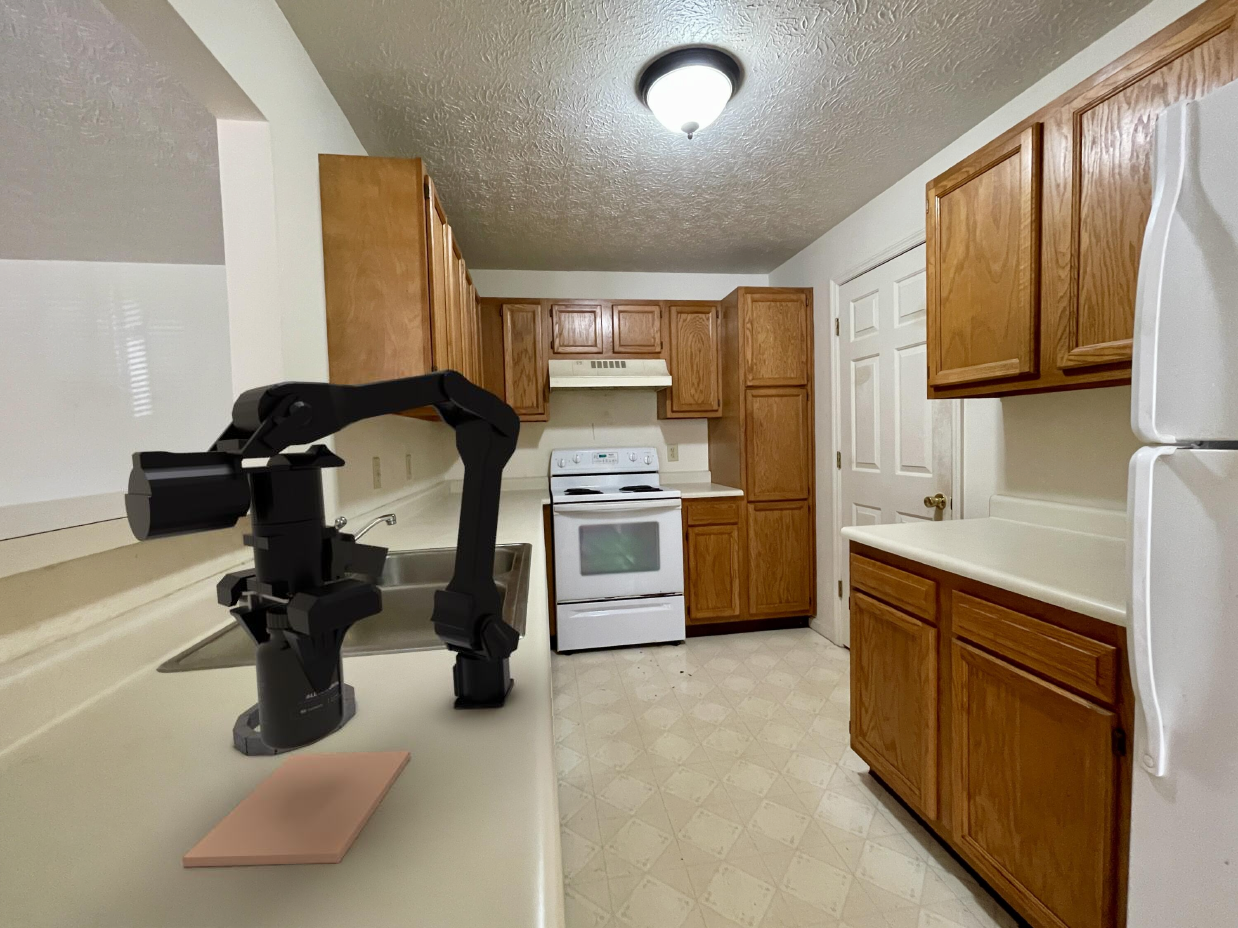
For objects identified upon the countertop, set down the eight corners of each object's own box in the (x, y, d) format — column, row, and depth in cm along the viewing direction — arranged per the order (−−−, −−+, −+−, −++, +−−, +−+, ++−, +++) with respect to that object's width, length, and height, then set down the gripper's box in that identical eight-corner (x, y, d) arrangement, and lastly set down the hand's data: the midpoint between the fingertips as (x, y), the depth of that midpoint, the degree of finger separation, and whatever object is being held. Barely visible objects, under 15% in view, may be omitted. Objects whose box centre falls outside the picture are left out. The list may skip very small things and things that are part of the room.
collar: (373, 694, 66) (372, 680, 66) (315, 753, 54) (314, 735, 54) (285, 697, 67) (284, 683, 67) (207, 756, 54) (205, 739, 54)
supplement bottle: (329, 746, 43) (319, 614, 42) (244, 758, 42) (232, 623, 41) (357, 704, 50) (349, 591, 49) (285, 713, 49) (275, 597, 48)
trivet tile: (410, 757, 52) (409, 750, 52) (339, 862, 39) (338, 853, 39) (292, 761, 53) (292, 754, 53) (183, 866, 40) (182, 857, 40)
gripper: (428, 510, 47) (438, 666, 48) (326, 504, 57) (336, 633, 57) (304, 532, 37) (320, 726, 38) (207, 519, 47) (222, 675, 48)
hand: (302, 682), depth 46 cm, fingers closed on supplement bottle, 7 cm apart
